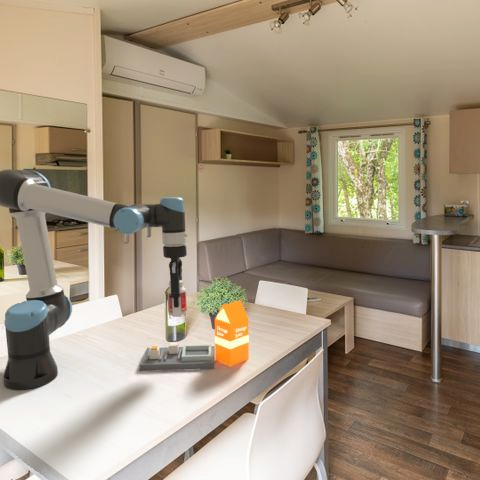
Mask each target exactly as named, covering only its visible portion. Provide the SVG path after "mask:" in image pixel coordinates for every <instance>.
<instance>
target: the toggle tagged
mask: <svg viewBox="0 0 480 480" xmlns="http://www.w3.org/2000/svg"><path fill="white" fill-rule="evenodd" d="M149 348H150V350H149V357H150V359H159V357H160V348H161V347H160V346H158V345H157V346H156V345H155V346H151V347H149Z"/></svg>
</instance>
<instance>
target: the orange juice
mask: <svg viewBox="0 0 480 480" xmlns="http://www.w3.org/2000/svg"><path fill="white" fill-rule="evenodd" d="M249 337H250V336H249V316H248V314H247V312H246V309H245V308H244V305H243V302H242V300H241V299H239V300H236V301H233V302H229V303H225V304H223V305H222V306H221V308H220V309H219V311H218V312H217V315H216V316H215V318H214V346H215V361H217V362H220V364H221V363H222V364H223V365H226V366H229V367H232V366H235V365H237V364H239V363H240V364H241V362H244V361H246V360H248V359H250V358H249V355H250V354H249V351H250V348H249V346H250V345H249V344H250V343H249V342H250V339H249Z"/></svg>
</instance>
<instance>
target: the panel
mask: <svg viewBox="0 0 480 480" xmlns="http://www.w3.org/2000/svg"><path fill="white" fill-rule="evenodd" d="M149 350H150V347H146V349H145V351H144V354H143V357H142V359H141V361H140V364H139V370H140V372H145V371H176V370H177V371H178V370H181V371H182V370H183V371H184V370H210V369H212V370H213V369H215V368H216V367H215V365H216V364H215V361H216V360H215V345H212V344H188V345H187V344H184V345H183V346H179V351H178V354H169V346H168V347H160V357H159V359H150V357H149Z"/></svg>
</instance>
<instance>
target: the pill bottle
mask: <svg viewBox="0 0 480 480" xmlns="http://www.w3.org/2000/svg"><path fill="white" fill-rule="evenodd" d="M179 283H180V297H181V316H184V315H186V314H187V313H188V310H187V309H188V308H187V290H186V288H185V286H184V280H183V279H182V280H179ZM168 286H169V288H168V289H167V291H166V295H167V312H168V315H169V316H172V317H173V308H172V298H170V296H171V280H170V281H169V282H168Z"/></svg>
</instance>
